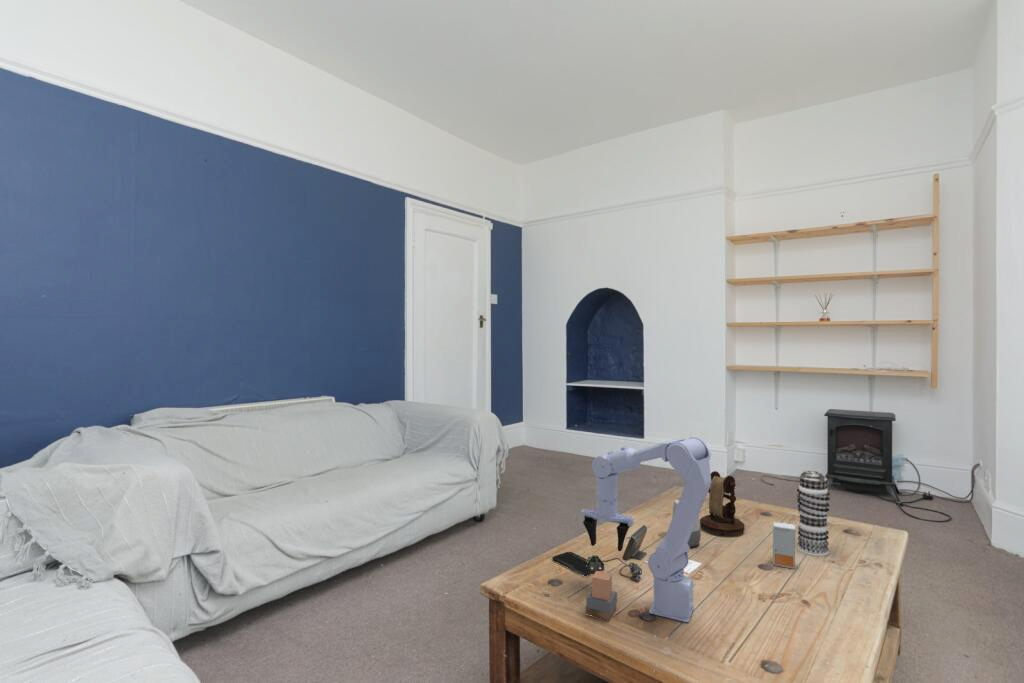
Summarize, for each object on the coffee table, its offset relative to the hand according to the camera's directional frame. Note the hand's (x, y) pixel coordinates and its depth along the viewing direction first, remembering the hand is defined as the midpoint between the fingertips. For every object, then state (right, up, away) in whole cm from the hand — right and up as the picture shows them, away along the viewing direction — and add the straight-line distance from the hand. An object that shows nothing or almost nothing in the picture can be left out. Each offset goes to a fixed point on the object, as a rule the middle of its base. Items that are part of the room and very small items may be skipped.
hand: (606, 547), depth 146 cm
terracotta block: (-4, -6, -15) cm, 17 cm away
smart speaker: (+31, -10, +29) cm, 44 cm away
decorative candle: (+70, -10, +23) cm, 74 cm away
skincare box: (+55, -10, +12) cm, 58 cm away
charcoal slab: (-4, -9, -15) cm, 17 cm away
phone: (-7, -11, +13) cm, 18 cm away
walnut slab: (-4, -11, -15) cm, 19 cm away
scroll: (+48, -10, +41) cm, 64 cm away
